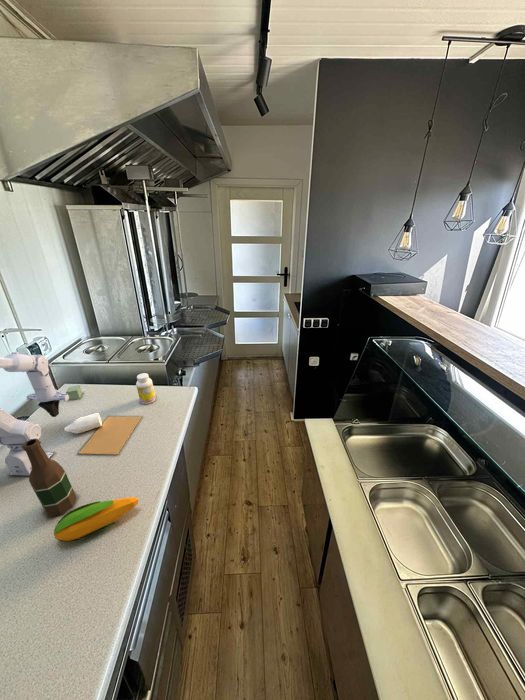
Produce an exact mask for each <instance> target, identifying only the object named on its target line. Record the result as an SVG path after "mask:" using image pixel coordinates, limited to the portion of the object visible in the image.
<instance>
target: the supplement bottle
mask: <svg viewBox="0 0 525 700" xmlns="http://www.w3.org/2000/svg"><path fill="white" fill-rule="evenodd" d="M136 380H137V381H136V383H135V386H136V390H137V395H138V398H139V402H140V403H141V404H143V405H148V404H151V403H153V402H154V401H155V400H156V397H157V396H156V393H155V388H154V383H153V380H152V378H150V376H149V373H147V372H142V373H139V374H137V376H136Z"/></svg>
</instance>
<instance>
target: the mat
mask: <svg viewBox="0 0 525 700" xmlns="http://www.w3.org/2000/svg"><path fill="white" fill-rule="evenodd" d="M141 419H142V416H107V417H106V418H105V420H104V421H102V426H100V427H98V429H97V430H96V431H95V432H94V433H93V434H92V436H91V437H90V438H89V440H88V441H87V442H86V443H85V445H84V446H83V447H82V448H81V449H80V451H79V452H78V455H105V456H106V455H107V456H109V455H110V456H111V455H112V456H113V455H115V456H118V455H119V453H120V451H121V450H122V449H123V447H124V445H125V444H126V442H127V441H128V439H129V437H130V436H131V435H132V433H133V431H134V430H135V428H136V427H137V425H138V423H139V422H140V421H141Z"/></svg>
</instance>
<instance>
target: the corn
mask: <svg viewBox="0 0 525 700" xmlns="http://www.w3.org/2000/svg"><path fill="white" fill-rule="evenodd" d="M138 504H139V498H138V497H135V496H130V497H124V498H117V499H111V500H104V501H101V500H98V501H94V502H90V503H86V504H83V505H80V506H78V507H76V508H74V509H71V510H69V512H67V513H66V514H64V515H63V516H62V517H61V518H60V519H59V521H58V522H57V523H56V525H55V527H54V530H53V536H54V538H55V539H56V540H57V541H59V542H62V543H63V542H64V543H71V542H74V541H79V540H82V539H85V538H87V537H89V536H93V535H94V534H96V533H99V532H101V531H103V530H105V529H107V528H109V527H111V526H113V525H115V524H116V522H115V521H117V520H119V519H120V518H121V517H123V516H124V515H125V514H127V513H129V512H130V511H131V510H132V509H134V508H136V506H137V505H138Z"/></svg>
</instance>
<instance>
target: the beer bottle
mask: <svg viewBox="0 0 525 700" xmlns="http://www.w3.org/2000/svg"><path fill="white" fill-rule="evenodd" d="M40 444H41V445H42V441H41V440H40V439H39V440H38V439H37V438H36V439H31V440H29V441H27V442H25V443H24V445H23V449H24V450H25V451H26V453H27V455H28V458H29V460H30V463H31V467H32V470H31V472H30V475H28V481H29V484H30V486H31V488H32V490H33V491H34V493H35V495H36V498H37V499H38V501H39V503H40V504H41V506H42V508H43V510H44V511H45V512H46V514H48V515H49V517H55V516H60V515H63V514H64V513H66V512H67V511H69V510H70V509H71V508H72V507H73V506H74V503H75V501H76V499H77V495H76V493H75V490H74V488H73V486H72V483H71V481H70V479H69V477H68V474H67V473H66V471H65V468H64V467H63V466H62V465H60V464H59V463H58V462H57V461H56V460H55V459H51V458H48V456H47V455H46V453H45V452H46V451H45V449H44V447H43V445H42V446H41V445H40ZM42 447H43V448H42ZM43 449H44V450H43Z"/></svg>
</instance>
